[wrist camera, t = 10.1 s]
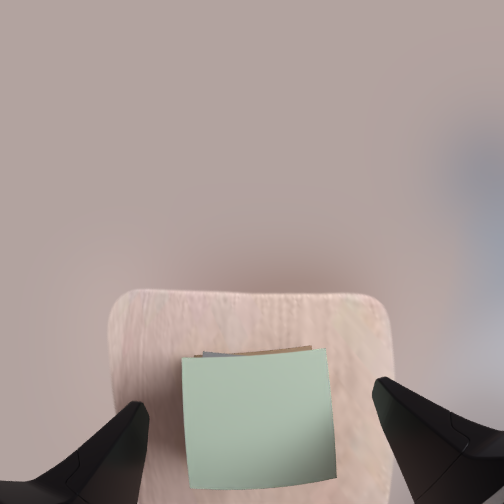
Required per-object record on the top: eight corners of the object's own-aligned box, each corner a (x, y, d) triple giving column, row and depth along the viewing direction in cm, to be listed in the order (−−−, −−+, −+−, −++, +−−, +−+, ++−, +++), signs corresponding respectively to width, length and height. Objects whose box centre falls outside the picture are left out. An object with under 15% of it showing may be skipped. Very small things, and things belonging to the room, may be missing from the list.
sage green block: (301, 442, 15) (336, 477, 7) (218, 448, 14) (190, 488, 7) (294, 367, 17) (325, 348, 10) (213, 372, 17) (181, 357, 10)
